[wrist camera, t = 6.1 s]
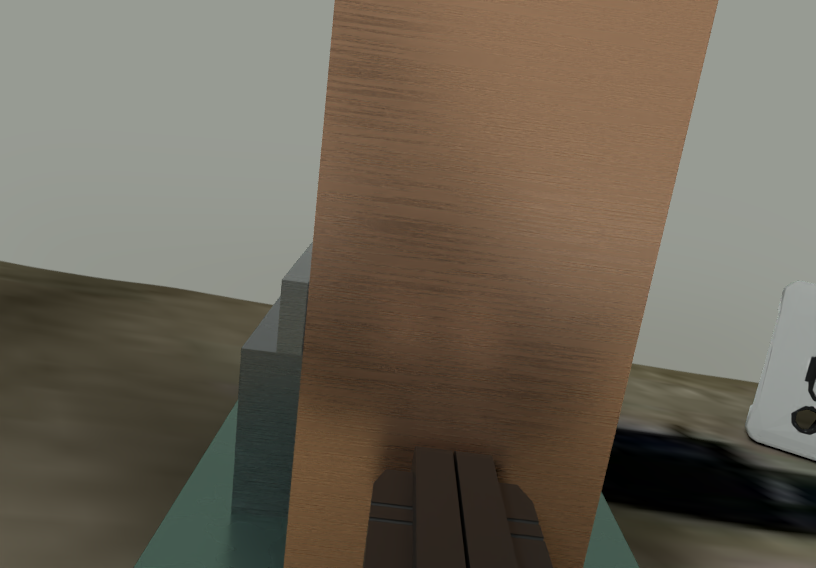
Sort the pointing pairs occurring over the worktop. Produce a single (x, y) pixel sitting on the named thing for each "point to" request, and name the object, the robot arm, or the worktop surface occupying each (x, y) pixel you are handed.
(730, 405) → the worktop surface
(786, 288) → the electrical switch
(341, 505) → the upright wooden plank
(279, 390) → the base
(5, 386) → the worktop surface
